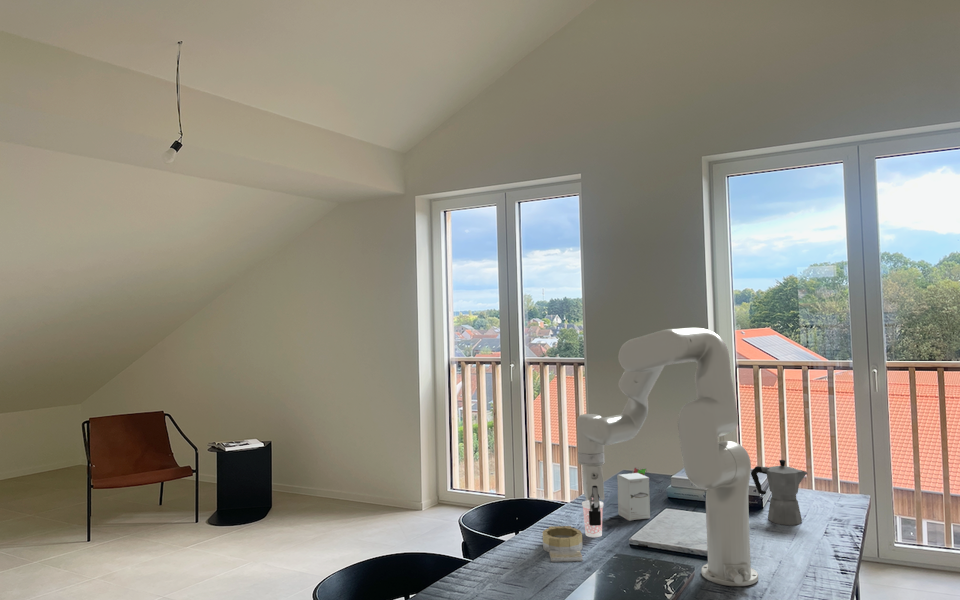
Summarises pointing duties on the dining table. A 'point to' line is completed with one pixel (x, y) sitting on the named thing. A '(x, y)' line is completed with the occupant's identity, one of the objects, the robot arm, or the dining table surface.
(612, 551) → the dining table surface
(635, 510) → the supplement box
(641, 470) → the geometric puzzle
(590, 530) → the beverage cup
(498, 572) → the dining table surface
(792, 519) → the coffeepot
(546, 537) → the yellow faceted ring
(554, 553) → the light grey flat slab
